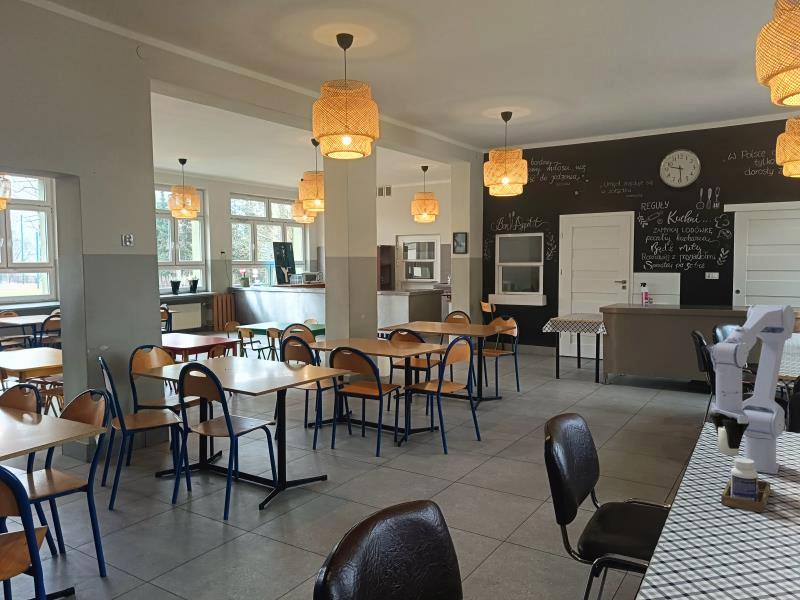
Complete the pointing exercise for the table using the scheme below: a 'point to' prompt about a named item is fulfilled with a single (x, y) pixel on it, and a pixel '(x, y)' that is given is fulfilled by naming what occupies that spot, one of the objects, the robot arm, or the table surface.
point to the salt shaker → (724, 443)
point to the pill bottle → (744, 479)
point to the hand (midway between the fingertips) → (728, 445)
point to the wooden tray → (744, 502)
